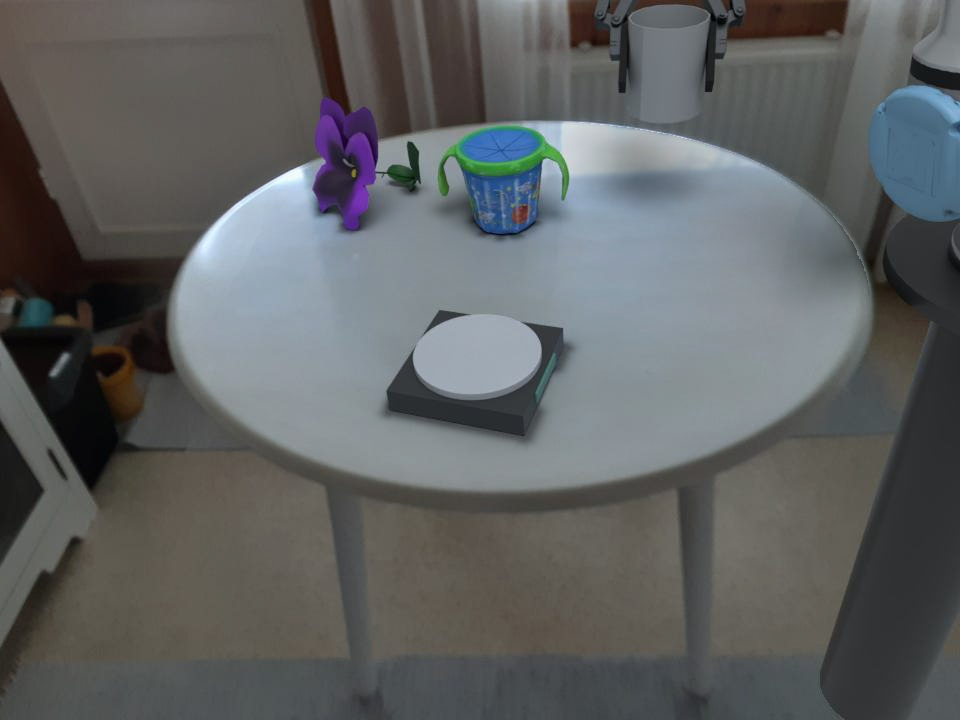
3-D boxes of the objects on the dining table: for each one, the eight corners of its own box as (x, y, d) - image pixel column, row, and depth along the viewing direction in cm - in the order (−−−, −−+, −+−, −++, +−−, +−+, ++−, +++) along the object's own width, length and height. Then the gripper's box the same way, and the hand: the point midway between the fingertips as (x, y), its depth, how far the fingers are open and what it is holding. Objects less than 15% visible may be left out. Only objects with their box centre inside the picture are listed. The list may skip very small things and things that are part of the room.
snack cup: (430, 235, 102) (420, 157, 96) (461, 195, 110) (453, 120, 103) (555, 250, 97) (553, 169, 91) (578, 207, 105) (578, 129, 99)
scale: (565, 347, 83) (565, 321, 81) (526, 436, 74) (524, 409, 72) (441, 328, 87) (438, 303, 85) (389, 410, 78) (384, 383, 76)
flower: (373, 209, 119) (289, 198, 110) (402, 103, 114) (316, 83, 105) (434, 247, 110) (347, 239, 100) (468, 134, 105) (380, 114, 95)
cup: (680, 89, 99) (686, 0, 93) (716, 114, 93) (725, 20, 86) (613, 102, 97) (615, 13, 91) (645, 128, 91) (650, 34, 85)
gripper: (770, -95, 94) (763, 100, 92) (579, -86, 98) (568, 102, 96) (782, -141, 87) (775, 70, 85) (575, -129, 91) (563, 73, 88)
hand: (665, 87), depth 90 cm, fingers closed on cup, 8 cm apart
